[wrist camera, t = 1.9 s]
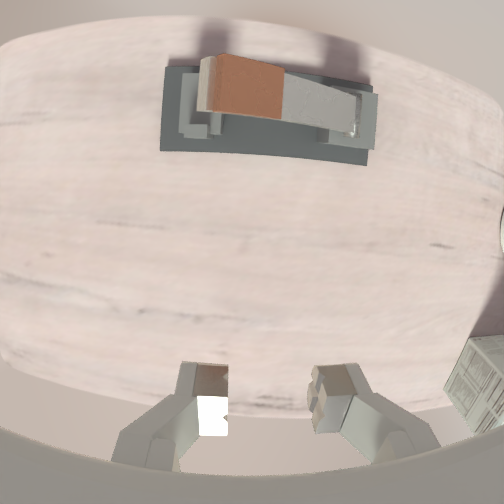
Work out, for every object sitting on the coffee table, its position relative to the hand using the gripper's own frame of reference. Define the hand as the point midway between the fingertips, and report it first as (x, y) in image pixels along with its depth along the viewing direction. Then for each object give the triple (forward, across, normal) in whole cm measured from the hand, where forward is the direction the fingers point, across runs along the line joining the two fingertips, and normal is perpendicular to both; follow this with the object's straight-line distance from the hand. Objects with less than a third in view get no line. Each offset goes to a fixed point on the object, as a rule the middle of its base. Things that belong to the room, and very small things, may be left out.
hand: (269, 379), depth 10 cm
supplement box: (+30, -48, +27) cm, 62 cm away
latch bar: (+18, -3, -11) cm, 21 cm away
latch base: (+29, -2, -11) cm, 31 cm away
